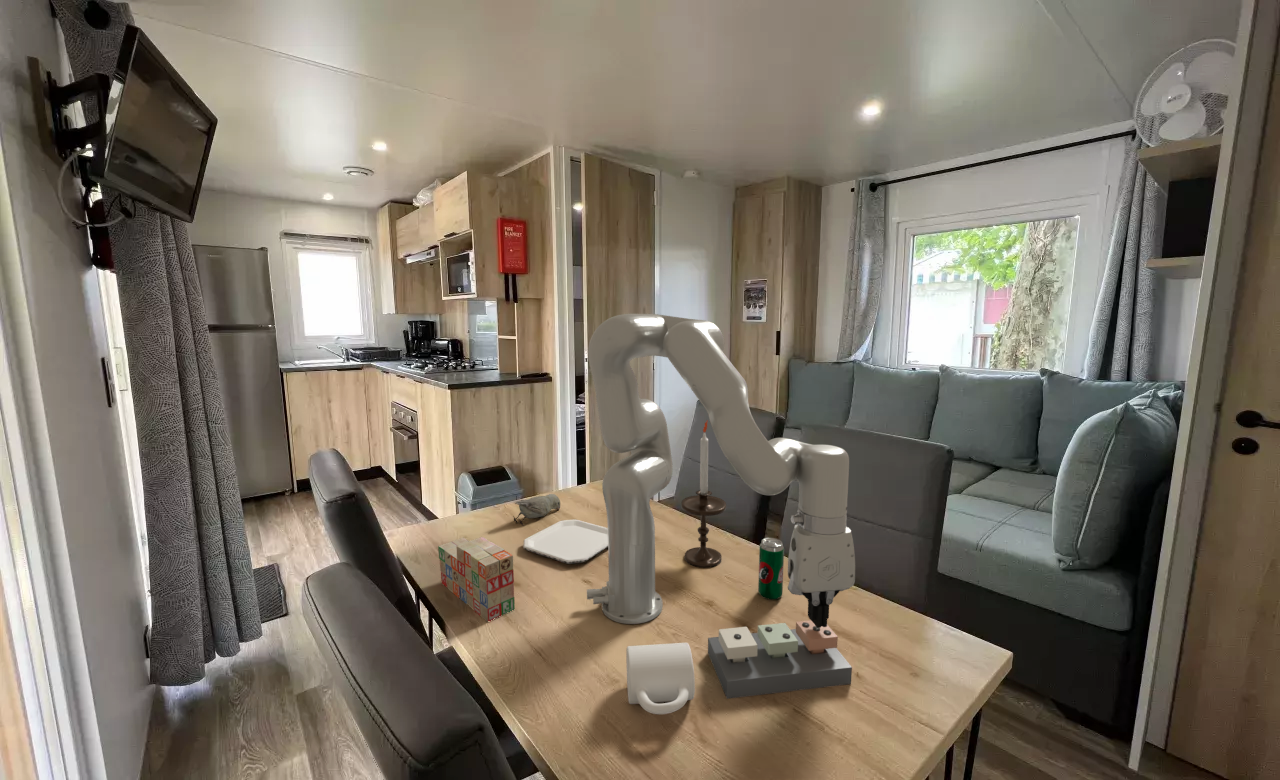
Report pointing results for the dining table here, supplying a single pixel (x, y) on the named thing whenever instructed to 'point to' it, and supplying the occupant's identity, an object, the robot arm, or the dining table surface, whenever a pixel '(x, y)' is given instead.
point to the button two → (777, 639)
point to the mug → (660, 676)
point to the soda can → (771, 568)
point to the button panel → (778, 670)
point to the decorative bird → (537, 506)
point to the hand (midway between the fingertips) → (817, 622)
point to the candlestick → (703, 513)
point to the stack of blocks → (479, 575)
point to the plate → (569, 541)
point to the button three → (816, 636)
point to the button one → (737, 643)
